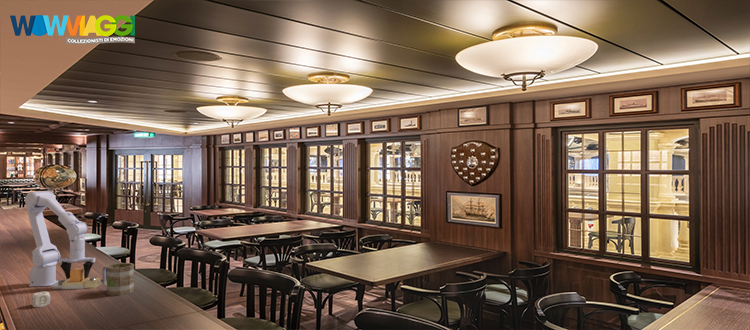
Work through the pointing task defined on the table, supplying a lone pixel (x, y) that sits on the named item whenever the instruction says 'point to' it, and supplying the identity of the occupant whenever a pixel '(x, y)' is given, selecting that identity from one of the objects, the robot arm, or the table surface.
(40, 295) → the die
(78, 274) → the orange rectangular peg
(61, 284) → the square frame connector
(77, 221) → the robot arm
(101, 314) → the table surface
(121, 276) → the mug
